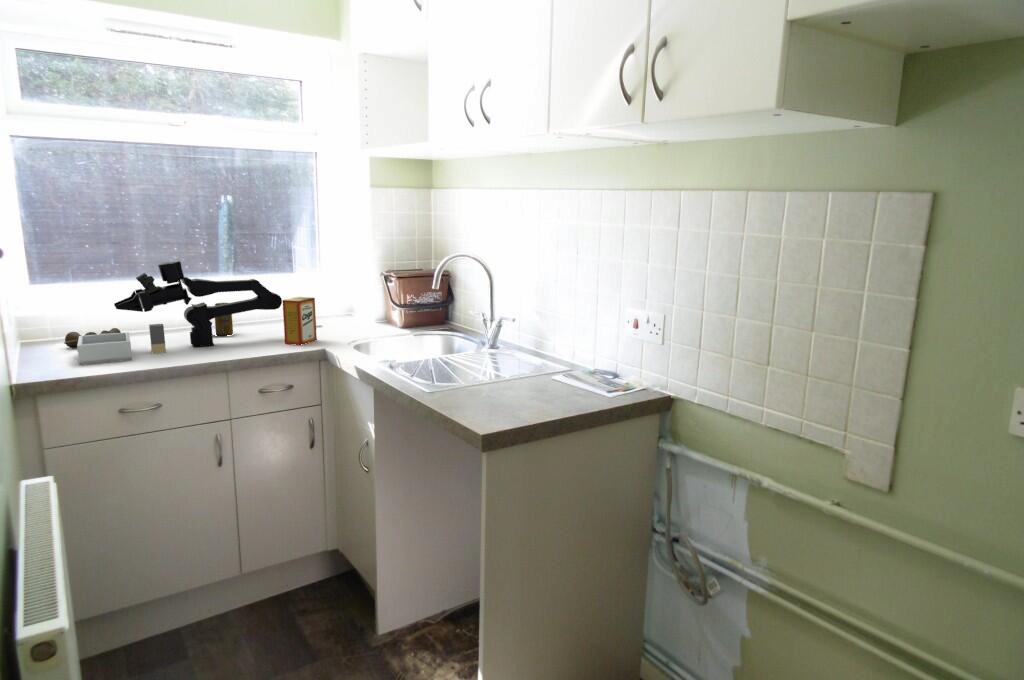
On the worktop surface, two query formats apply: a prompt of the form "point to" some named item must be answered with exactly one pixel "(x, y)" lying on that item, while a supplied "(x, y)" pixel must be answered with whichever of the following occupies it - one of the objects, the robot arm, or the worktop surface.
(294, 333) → the baking soda box
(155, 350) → the block
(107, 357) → the walled box
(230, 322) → the condiment
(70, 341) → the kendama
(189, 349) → the worktop surface
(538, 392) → the worktop surface
